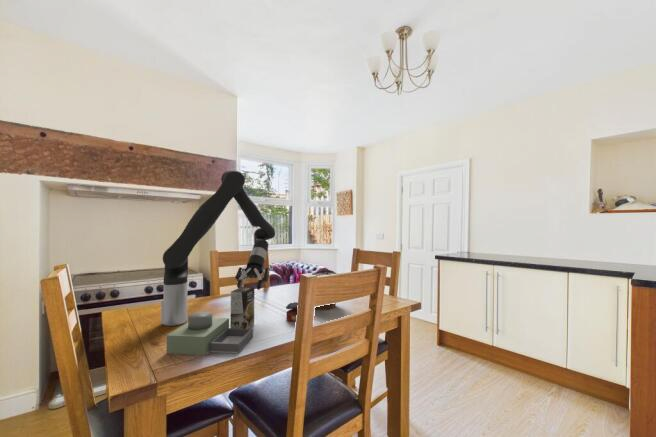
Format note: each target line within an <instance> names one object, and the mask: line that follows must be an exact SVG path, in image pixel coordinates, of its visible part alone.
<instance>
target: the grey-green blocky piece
mask: <svg viewBox="0 0 656 437" xmlns="http://www.w3.org/2000/svg"><path fill="white" fill-rule="evenodd" d="M253 337H254V329H253V328H250V329H239V328H230V318H229V317H227V318H226V317H213V313H212V312H211V311H198V312H193V313H191V314H188V315H187V322H185V323H183V325H182V326H181V325H180V327H178V328H176V329H175V330H173V331H171V332H169V333H168V334H166V354H169V355H170V354H172V355H193V356H194V355H198V356H206V355H207V354H208V353H223V354H224V353H227V354H228V353H229V354H240V352H241V351H242V350H243V349H244V348H245V346H246V345H247V344H248V343H249V342H250V341H251V340H252V339H253Z"/></svg>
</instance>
